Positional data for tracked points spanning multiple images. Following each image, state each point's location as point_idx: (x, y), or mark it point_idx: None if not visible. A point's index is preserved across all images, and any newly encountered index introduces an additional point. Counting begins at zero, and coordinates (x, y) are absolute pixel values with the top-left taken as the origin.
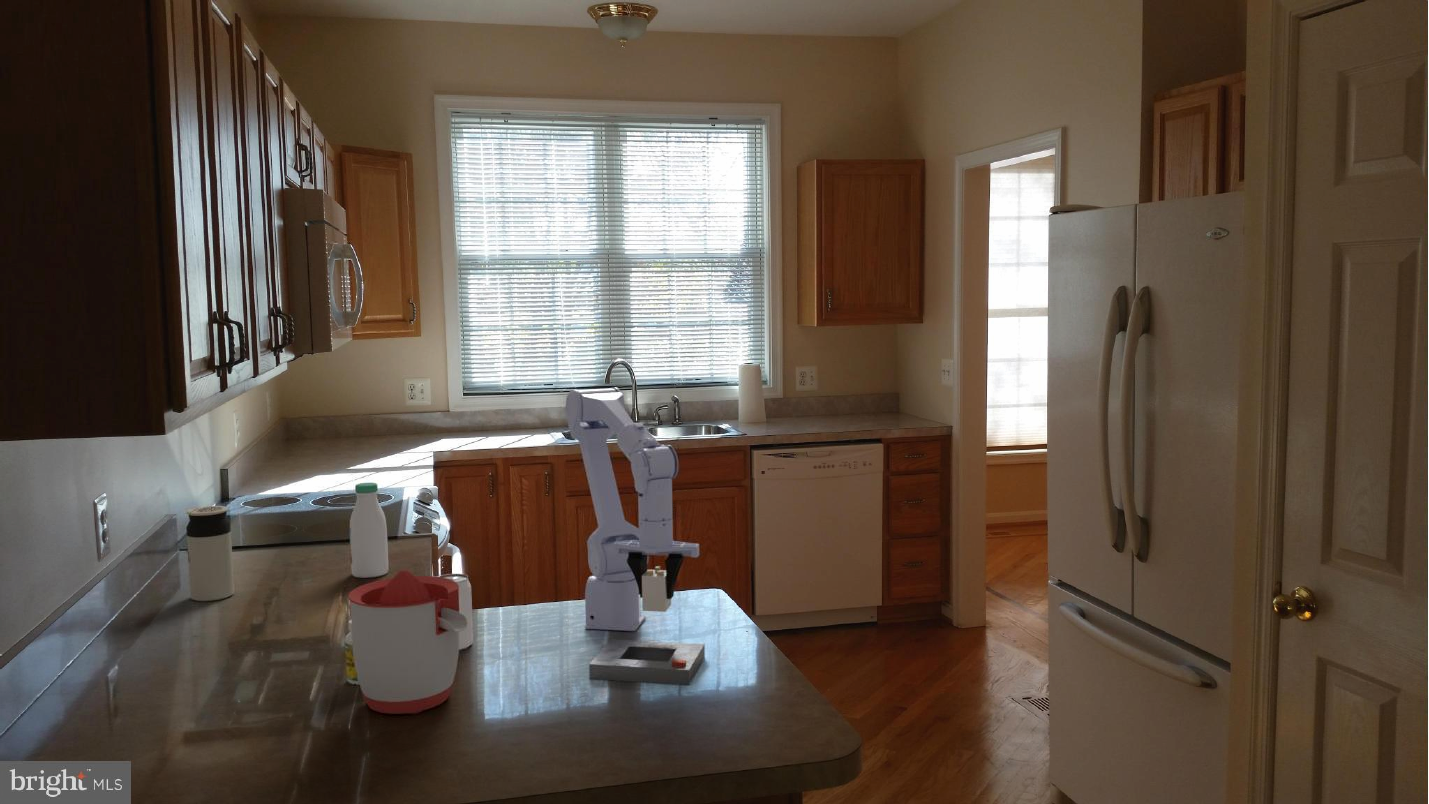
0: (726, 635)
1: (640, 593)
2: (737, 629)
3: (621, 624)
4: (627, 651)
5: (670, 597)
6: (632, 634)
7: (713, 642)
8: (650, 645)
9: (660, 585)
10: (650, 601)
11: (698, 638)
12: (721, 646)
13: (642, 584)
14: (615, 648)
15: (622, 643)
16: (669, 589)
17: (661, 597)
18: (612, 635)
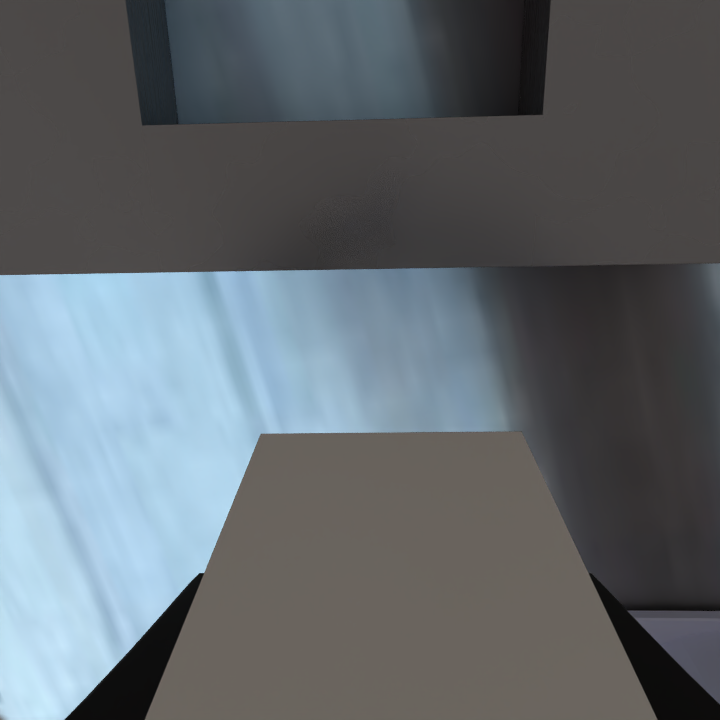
0: (70, 627)
1: (612, 605)
2: (50, 709)
3: (689, 650)
4: (541, 48)
5: (188, 584)
6: (595, 574)
7: (96, 522)
8: (373, 167)
9: (258, 664)
10: (437, 488)
11: (200, 567)
12: (27, 469)
13: (624, 671)
14: (654, 34)
15: (614, 175)
16: (148, 651)
17: (280, 526)
18: (716, 544)
